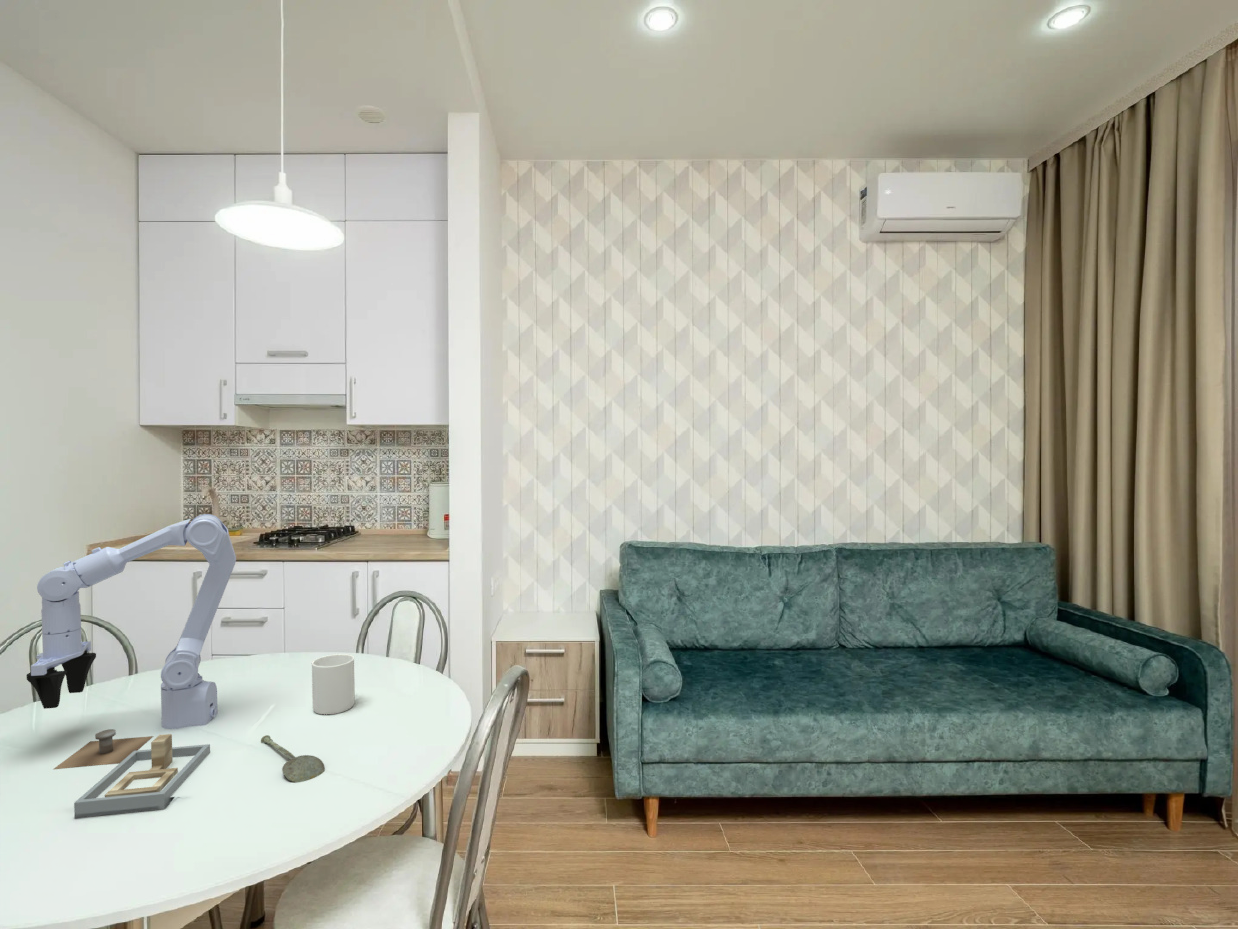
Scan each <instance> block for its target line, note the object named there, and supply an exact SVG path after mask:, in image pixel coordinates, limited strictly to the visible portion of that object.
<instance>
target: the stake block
mask: <svg viewBox="0 0 1238 929" xmlns="http://www.w3.org/2000/svg"><path fill="white" fill-rule="evenodd" d="M116 732H117V731H116V729H109V728H108V729H105V730H101V731H99V732H97V733H95V740H91V741H89V742H87V743H86V744H85V745H82V747H80V749H78V750H76V752H74V753H73V754H72V755H70V756H69V757H68V758H67V757H66V759H64V760H63V761H62V762H61V763H59V764H58V765H57V766H55V767H54V768H53V770H62V769H73V768H74V769H75V768H85V767H95V766H96V767H97V766H107V765H116V764H117V765H118V764H119V763H121V762H122V761H123V760H124V759H125V758H126V757H128V756H129V755H130V754H131V753H132V752H133V751H137V750H141V748H142V747H143V746H144V745H145V744H147V743H148V742H149V741H150V740H152V738H153V737H154V736H153V735H151V736H148V735H147V736H140V737H127V738H125V737H124V738H115V739H113V737H115V736H116V734H117V733H116Z"/></svg>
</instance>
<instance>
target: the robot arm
mask: <svg viewBox="0 0 1238 929" xmlns="http://www.w3.org/2000/svg"><path fill="white" fill-rule="evenodd" d="M232 542H233V541H232V539H231V536H230V532H229V529H228V527H227V526H226V525H225V524H224V523H223V521H222V520H221V519H220V518H219V517H217V515H214V514H210V513H204V514H199V515H197V516H195V517H194V518H193V519H191V518H189V519H184V520H181V521H180V522H179V521H178V522H176V523H173V524H169V525H167V526H165V527H163V528H161V529H159V530H157V531H154V532H153V533H151V534H148V535H146V536H144V537H141V538H140V539H137V540H135V541H133V542H131V543H128V544H127V545H125V546H123V547H122V546H121V548H117V547H115V548H114V547H111V546H105V547H103V548H101V547H100V546H99V547H95V548H94V549H91V551H90V552H91V553H90V554H88V555H84V556H83V557H80V558H78V559H76V560H73V561H71V560H67V561H66V562H64V563H63V565H62V566H59V567H57V568H54V569H51V570H50V571H49V572H47V573H45V574H44V575H42V577H41V578H40V579H39V580H38V582H37V584H36V585H37V586H36V589H37V592H38V595H39V596H40V597H41V612H40V614H41V637H42V638H41V641H42V652H41V653H38V654H36V656H35V659H36V660H37V661H36V662H35V663H33V664H31V665H30V672H29V673H26V680H27V681H28V682H29V684H31V686H32V687H33V688H34V689H35V691H36V693H37V695H38V697H39V700H40V702H41V703H40V704H41V705H42V707H43V709H44V710H45V709H57V708H58V707H59V705H60V701H61V691H62V690H61V689H62V685H63V681H64V678H65V679H66V686H67V690H68V693H69V694H76V693H80V694H81V693H82V692H84V690H85V689H84V688H85V686H86V682H87V678H88V675H89V672H90V669H91V666H92V665H93V663H94V661H95V659H96V658H97V653H96V652H91V651H92V642H91V640H90V641H82V617H81V616H82V613H81V612H82V611H81V610H82V609H81V603H80V591H79V590H80V589H87V588H90V587H91V586H94V585H97V584H98V583H101V582H102V581H105V580H108V579H110V578H112V577H114V576H117V575H118V574H122V573H123V571H124V570H125V568H126V566H127V563H129V562H132V561H134V560H136V559H138V558H141V557H143V556H146V555H148V554H150V553H153V552H156V551H158V550H161V549H163V548H165V547H168V546H179V547H185V546H186V545H187V543H189V544H190V545H191V546H192V547H193V548H195V549H197V551H199V552H200V553H202V555H203V557H204V558H205V560H206V561H207V563H208V565H209V566H208V568H207V570H206V572H205V576H204V577H203V580H202V583H201V585H200V588H199V590H198V592H197V596H196V598H195V599H194V603H193V605H192V607H191V611H190V613H189V615H188V618H187V620H186V622H185V625H184V628H183V630H182V632H181V634H180V637H179V639H178V641H177V642H178V643H177V644H176V646H175V647H174V648H173V649H172V650H171V651H170V652H168V654H167V656H166V658H165V663H164V666H163V667H162V669H161V671H160V679H161V682H162V683H161V684H160V706H161V707H160V709H161V710H160V712H161V727H162V728H164V729H165V730H175V729H176V730H177V729H182V728H189V727H190V728H191V727H199V726H200V727H201V726H207V725H208V724H209V723H210V721H212V720H213V719H214V718H215V717H216V716H217V715H218V712H219V711H218V688H217V684H216V682H215V681H208V680H207V681H206V680H204V679H203V675H201V674H200V673H199V666H200V664H201V652H202V649H203V647H204V643H205V641H206V638H207V636H208V634H209V630H210V629H211V625H212V622H213V621H214V618H215V616H216V613H217V611H218V608H219V606H220V604H221V600H222V598H223V596H224V593H225V591H226V587H227V586H228V583H229V581H230V578H231V576H232V572H233V570H234V568H235V565H236V562H237V554H236V552H235V549H234V545H233V543H232ZM60 665H61V667H62V668H63V670H58V669H56V668H57V667H58V666H60Z"/></svg>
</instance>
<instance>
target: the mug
mask: <svg viewBox="0 0 1238 929" xmlns="http://www.w3.org/2000/svg"><path fill="white" fill-rule="evenodd" d="M311 682H312V683H311V685H312V686H311V688H312V696H311V697H312V710H313V711H314V713H316V714H318V715H322V714H324V715H325V714H326V715H327V714H330V715H337V714H340V713H344V712H346V711H349V710H350V709H351V708H353V707H354V705H355V700H356V699H355V692H356V691H355V688H356V687H355V656H354V655H351V654H347V653H338V654H336V653H335V654H328V655H324V656H320V657H317V658H315V659H314V660H313V661H312V662H311Z"/></svg>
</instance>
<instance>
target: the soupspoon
mask: <svg viewBox="0 0 1238 929" xmlns="http://www.w3.org/2000/svg"><path fill="white" fill-rule="evenodd" d="M260 743H261V744H268V745H271V746H272V747H274V748H275V749H276V750H278V751H279V752H280V753H282V754H283V755H284V756H286V757H287V759H288V760H287V761H286V762H285V763H284V764H283V766H282V768H281V769H282V770H281V771H282V774H283V775H284V776H285V778H286V780H288V781H290V782H293V783H295V784H297V783H298V784H299V783H303V782H307V781H311V780H314V779H315V778H317V777H319V776H320V775H322V774H324V772H325V770H326V769H325V764H324V762H323V761H322V759H320V758H319V757H317V756H315V755H309V754H304V755H299V756H296V755H294V754H293V753H292V752H290V751H289V750H287V749H286V748H285V747H283V746H281V745H279V744H278V743H276V742H275V741H274V740H273V739H272V738H271V736H270V735H269V734H266V735H263V736H262V737H261V738H260Z"/></svg>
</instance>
